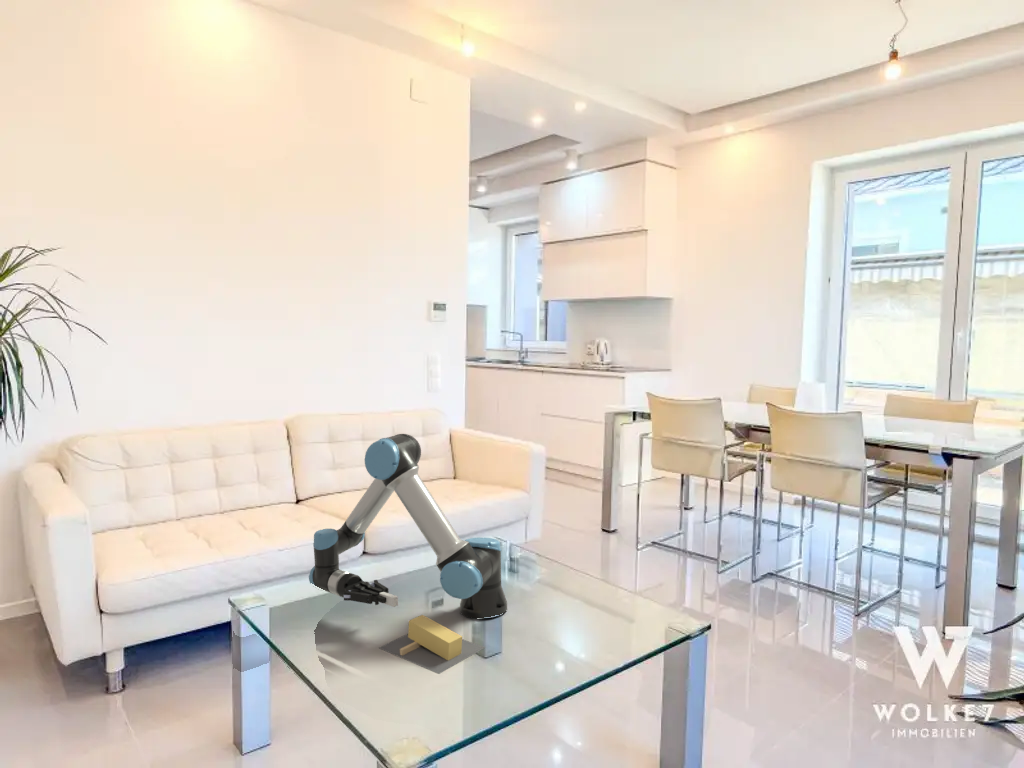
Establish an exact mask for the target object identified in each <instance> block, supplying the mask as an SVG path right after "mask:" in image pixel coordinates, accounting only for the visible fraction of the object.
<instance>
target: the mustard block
mask: <svg viewBox="0 0 1024 768" xmlns="http://www.w3.org/2000/svg"><path fill="white" fill-rule="evenodd" d="M407 632H408V633H407V634H408V638H410V639H412V640H414V641H415V642H417V643H419V644H420V645H422V646H424V647H425V648H427V649H429V650H431V651H432V652H434V653H436V654H437V655H439V656H441V657H443V658H444V659H446V660H450V659H452V658H454V657H456V656H458V655H460V654H461V649H462V639H463V635H460V634H458V633H457V632H455V631H454V630H451V629H450V628H447V627H446V626H444V625H443V624H440V623H438V622H437V621H435V620H433V619H431V618H429V617H427V616H425V615H423V614H421V615H419V616H416V617H414V618H413V619H412V618H411V619H409V620H408V630H407Z"/></svg>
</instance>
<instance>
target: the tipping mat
mask: <svg viewBox="0 0 1024 768" xmlns="http://www.w3.org/2000/svg"><path fill="white" fill-rule="evenodd" d="M485 648H486V647H485V646H483V645H480V644H477V643H474V642H472V641H468V640H467V639H463V638H462V649H461V654H460V655H458V656H456V657H454V658H452V659H450V660H446V659H444V658H443V657H441V656H439V655H437V654H436V653H434V652H432V651H431V650H429V649H427V648H425V647H424V646H422V645H420V644H419V643H417V642H415V641H414V640H412V639H410V638H408V633H407V634H404V635H402V636H401V637H398V638H396V639H394V640H392V641H389V642H387V643H385V644H384V645H380V646H379V647H378V649H380V650H383V651H385V652H387V653H390V654H392V655H394V656H397V657H398V658H401V659H403V660H406V661H408V662H410V663H411V664H415V665H417V666H420V667H421V668H423V669H426V670H429V671H431V672H433V673H436V674H441V673H442V674H443V673H444V672H446V670H449V669H451V668H452V667H454V666H456V665H458V664H459V663H462V662H463V661H464V660H467V659H469V658H470V657H472V656H473V655H475V654H477V653H478V652H480V651H482V650H484V649H485Z"/></svg>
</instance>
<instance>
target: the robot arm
mask: <svg viewBox="0 0 1024 768" xmlns="http://www.w3.org/2000/svg"><path fill="white" fill-rule="evenodd" d="M421 457H422V448H421V445H420V443H419V441H418V440H417V439H416V438H415V437H414V436H413V435H411V434H407V433H398V434H394V435H392V436H388V437H382V438H380V439H378V440H376V441H374V442H373V443H371V444H370V445H369V446H368V447H367V449H366V451H365V456H364V466H365V469H366V471H367V473H368V475H370V476H371V477H372V478H373V479H374V480H373V481H372V482H371V484H370V485H369V486H368V488H367V489H366V491H365V492H364V493H363V495H362V497H361V498H360V499H359V501H358V502H357V504H356V505H355V507H354V508H353V509H352V511H351V513H350V514H349V516H348V517H347V518H346V520H345V521H344V523H343V524H342V525H341V527H340V528H338V529H334V528H323V529H318V530H317V531H315V532H314V534H313V543H312V544H313V554H314V555H313V556H314V558H313V559H314V566H313V567H312V568H311V569H310V572H309V574H308V581H309V584H311V583H312V584H314V585H315V586H317V587H319V588H321V589H323V590H325V591H324V592H326V593H330V594H333V595H336V596H338V597H339V598H340V597H341V598H343V600H344V601H346V602H347V601H352V602H358V603H363V604H368V605H369V604H370V605H371V604H373V603H374V605H375V606H378V605H379V604H380V603H381V604H384V605H387V606H389V607H393V608H395V607H397V606H399V597H398V596H397V595H394V594H392V593H389V587H387V586H386V585H384V584H382V583H380V582H379V580H377V579H375V580H373V581H372V582H369V581H364V580H363V579H362V577H361V576H359V575H358V574H354V573H352V572H350V571H349V572H348V571H345V570H342V569H340V566H339V565H340V556H339V555H341V554H343V553H344V552H346V551H348V550H350V549H352V548H353V547H357V546H358V545H359V544H360V543H362V542H363V541H364V539H365V534H366V531H367V529H369V527H370V526H371V524H372V522H373V521H374V520H375V519H376V517H377V515H378V514H379V512H381V510H382V509H383V507H384V505H385V504H386V503H387V501H388V500H389V499H390V497H391V496H392V494H393V493H394V492H395V493H396V496H397V497H398V499H399V500H400V501H401V503H402V505H403V507H405V509H406V511H407V513H408V514H409V516H410V517H411V518H412V520H413V521H414V524H416V527H418V529H419V531H420V533H421V534H422V535H423V537H424V539H426V542H427V543H428V545H429V546H430V548H431V549H432V551H433V552H434V554H435V555H436V563H435V565H436V566H437V568H438V570H439V571H440V573H439V574H440V575H439V582H440V583H439V584H440V585H441V588H442V590H444V592H445V593H446V594H448V596H450V597H451V598H454V599H459V600H460V602H459V613H460V614H461V615H463V617H466V618H468V619H473V620H478V619H477V618H484V617H491V616H495V615H500V614H502V613H504V612H505V611H506V610H507V611H508V600H507V597H506V595H505V593H504V589H503V587H502V555H501V553H502V549H501V542H500V541H499V540H498V539H496V538H493V537H492V538H491V537H470V538H467V539H464V540H462V539H461V538H460V536H459V535H458V533H457V532H456V530H455V529H454V527H453V525H452V524H451V523H450V521H449V519H448V518H447V516H446V515H445V514H444V512H443V510H442V509H441V507H440V505H439V504H438V502H437V501H436V500H435V497H433V495H432V494H431V492H430V491H429V489H428V488H427V486H426V484H425V483H424V481H423V479H422V478H421V477H420V475H419V469H420V466H419V465H418V463H419V462H420V460H421ZM323 590H322V591H323ZM507 611H506V612H507Z"/></svg>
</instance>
